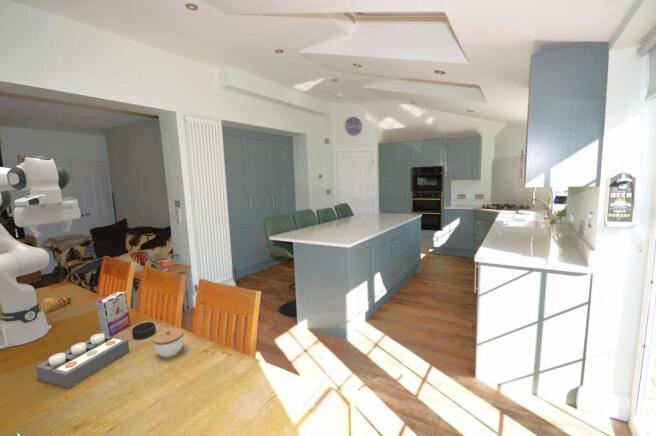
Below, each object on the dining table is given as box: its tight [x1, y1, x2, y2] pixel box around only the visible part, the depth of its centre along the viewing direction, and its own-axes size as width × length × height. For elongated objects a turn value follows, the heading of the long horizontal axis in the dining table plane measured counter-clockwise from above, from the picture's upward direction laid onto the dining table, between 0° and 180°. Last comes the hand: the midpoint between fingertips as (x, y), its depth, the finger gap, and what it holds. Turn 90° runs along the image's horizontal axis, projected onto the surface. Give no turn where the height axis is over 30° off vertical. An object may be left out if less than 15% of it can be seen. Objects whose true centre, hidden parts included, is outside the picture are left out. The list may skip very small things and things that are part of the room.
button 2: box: [70, 341, 87, 357], centre depth 117 cm, size 4×4×4 cm
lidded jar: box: [152, 327, 185, 359], centre depth 122 cm, size 11×11×9 cm
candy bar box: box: [95, 291, 131, 337], centre depth 140 cm, size 11×5×16 cm, turn 168°
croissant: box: [38, 296, 72, 314], centre depth 166 cm, size 21×10×8 cm, turn 154°
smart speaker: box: [131, 321, 157, 340], centre depth 137 cm, size 9×9×4 cm
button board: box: [35, 335, 130, 389], centre depth 116 cm, size 16×22×6 cm
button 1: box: [48, 352, 67, 369], centre depth 110 cm, size 4×4×4 cm
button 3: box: [90, 332, 105, 347], centre depth 123 cm, size 4×4×4 cm
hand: (53, 234), depth 120 cm, fingers open, 8 cm apart
